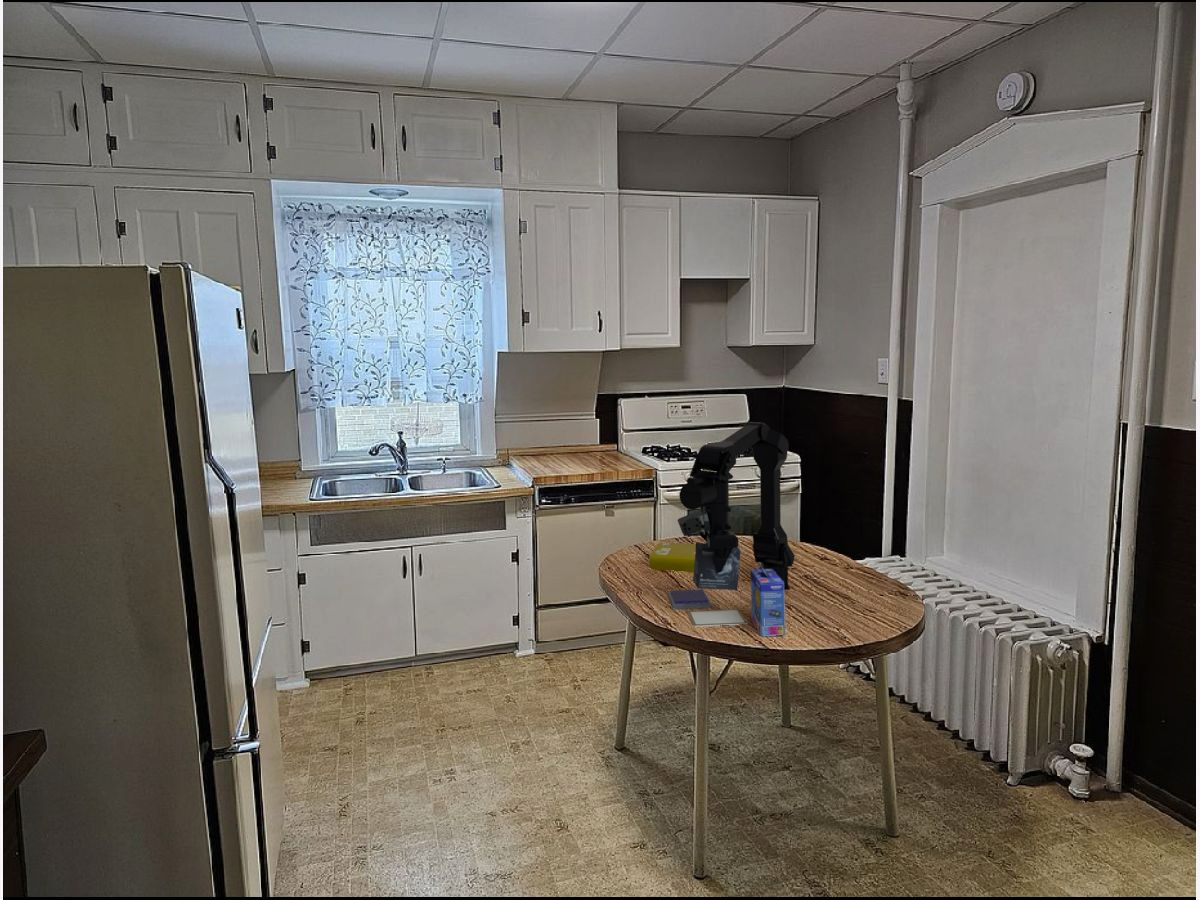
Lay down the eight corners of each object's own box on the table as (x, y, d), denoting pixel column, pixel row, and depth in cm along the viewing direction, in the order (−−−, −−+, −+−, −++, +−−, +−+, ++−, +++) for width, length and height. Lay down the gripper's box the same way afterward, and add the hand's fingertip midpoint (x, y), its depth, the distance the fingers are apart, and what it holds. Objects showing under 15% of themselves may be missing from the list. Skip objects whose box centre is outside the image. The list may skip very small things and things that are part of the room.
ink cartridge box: (749, 620, 171) (749, 558, 169) (773, 619, 171) (774, 558, 169) (760, 637, 161) (760, 572, 159) (785, 636, 161) (786, 571, 159)
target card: (738, 610, 177) (738, 608, 177) (747, 624, 169) (747, 622, 168) (687, 612, 177) (687, 610, 177) (694, 626, 168) (694, 625, 168)
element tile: (701, 574, 207) (701, 557, 206) (648, 571, 211) (647, 554, 210) (708, 558, 221) (708, 542, 220) (658, 556, 225) (658, 540, 224)
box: (696, 589, 169) (699, 548, 168) (692, 582, 174) (695, 542, 173) (737, 591, 169) (741, 549, 168) (732, 583, 175) (735, 543, 174)
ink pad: (704, 595, 189) (704, 588, 188) (711, 607, 180) (710, 600, 179) (668, 596, 188) (668, 590, 188) (673, 609, 179) (673, 602, 179)
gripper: (674, 493, 178) (675, 557, 180) (686, 511, 159) (687, 583, 162) (721, 492, 178) (721, 556, 181) (738, 509, 160) (738, 580, 162)
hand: (716, 568), depth 171 cm, fingers closed on box, 5 cm apart
